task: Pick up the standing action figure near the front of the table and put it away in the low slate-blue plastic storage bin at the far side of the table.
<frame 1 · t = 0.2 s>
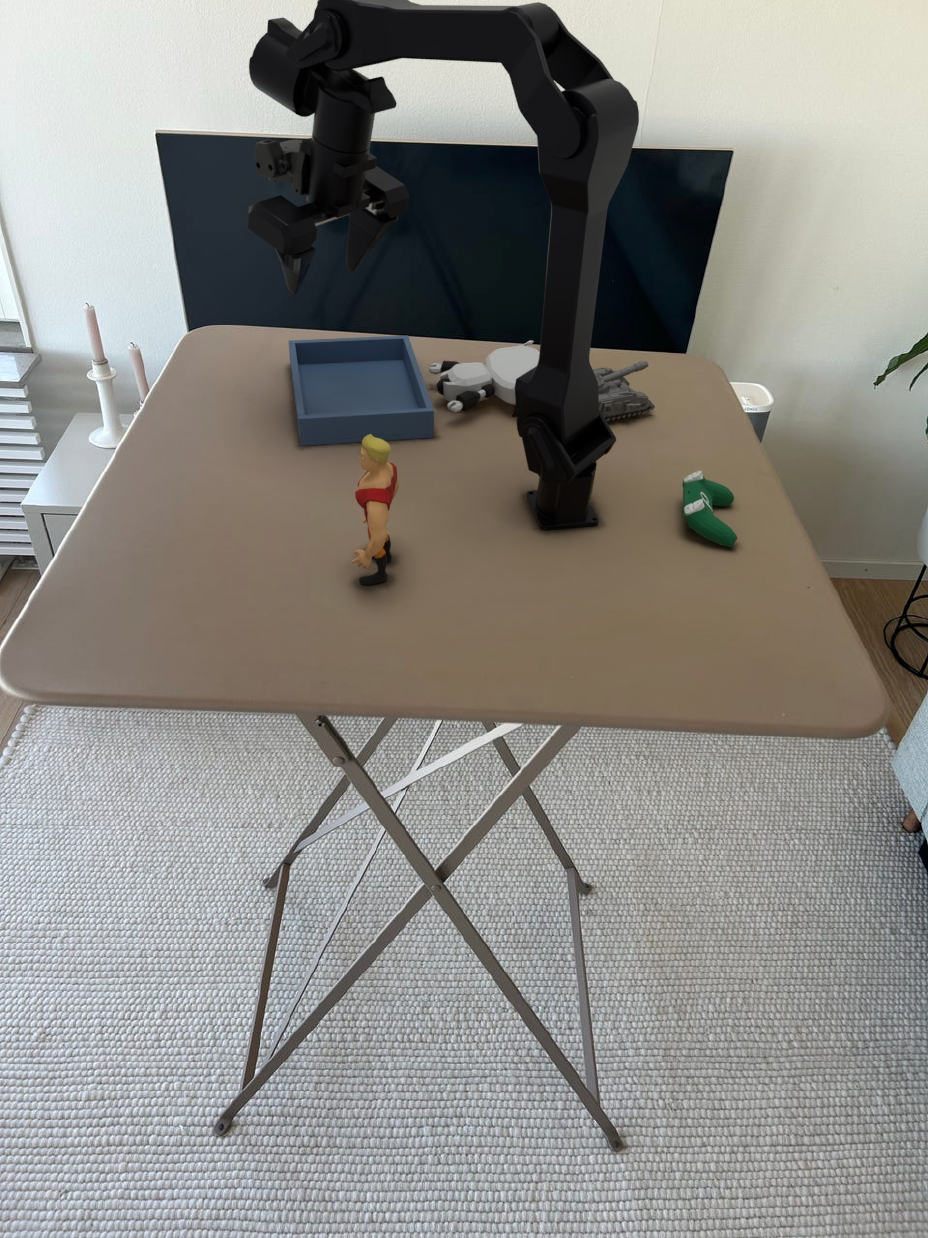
hand: (322, 280, 99), 15 cm above the table, tool pointing down, fingers open, 9 cm apart
tank toy: (599, 407, 111), on the table, touching robot toy
action figure: (376, 570, 87), on the table
green christmas stockings: (704, 523, 95), on the table
robot toy: (493, 398, 112), on the table, touching tank toy
storage bin: (358, 400, 110), on the table
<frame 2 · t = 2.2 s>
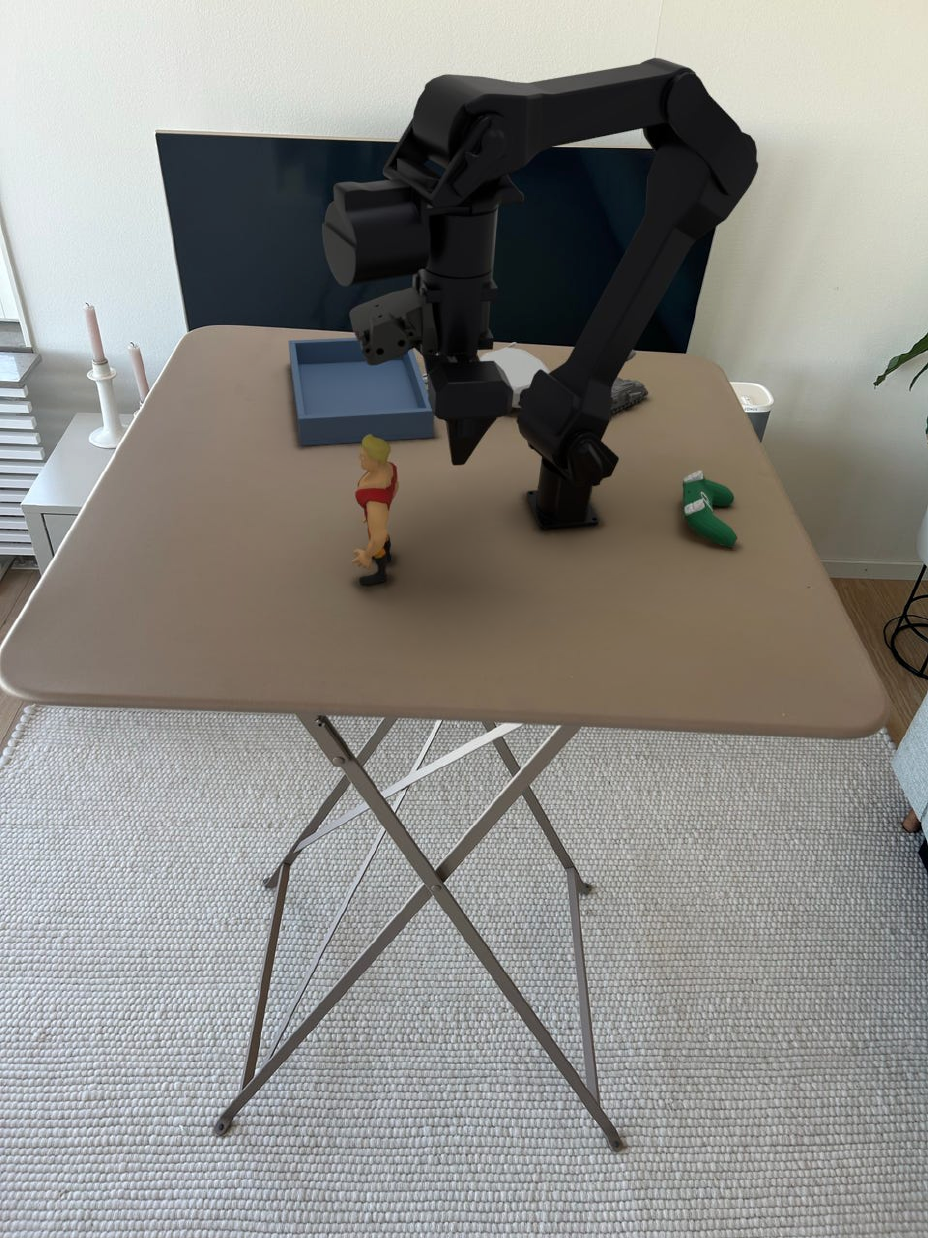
hand: (448, 436, 80), 13 cm above the table, tool pointing down, fingers open, 9 cm apart
tank toy: (596, 401, 114), on the table
robot toy: (489, 403, 112), on the table
everything else where it was.
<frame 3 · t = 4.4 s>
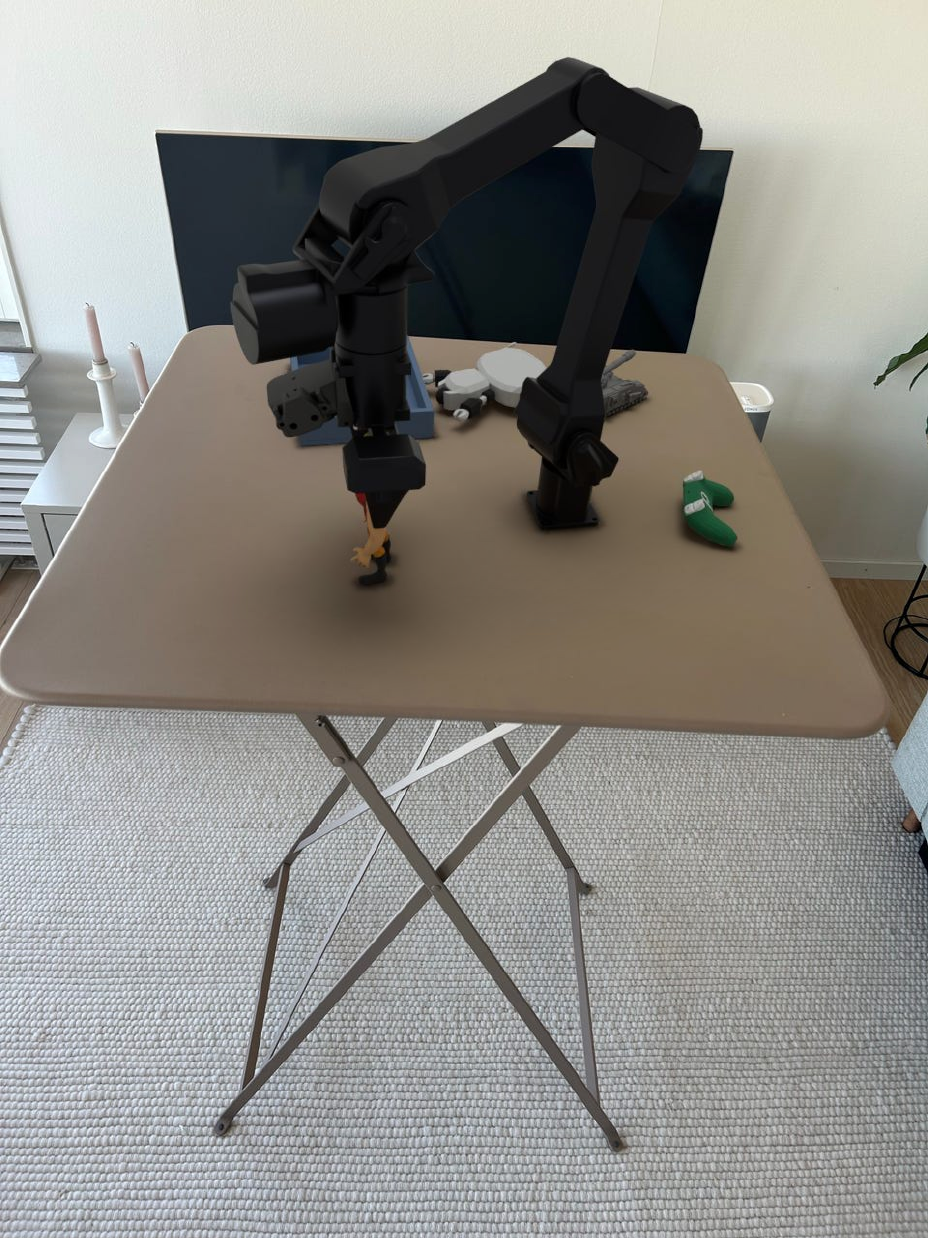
hand: (373, 501, 80), 8 cm above the table, tool pointing down, fingers closed on action figure, 7 cm apart
action figure: (375, 570, 87), on the table, touching gripper
everything else where it was.
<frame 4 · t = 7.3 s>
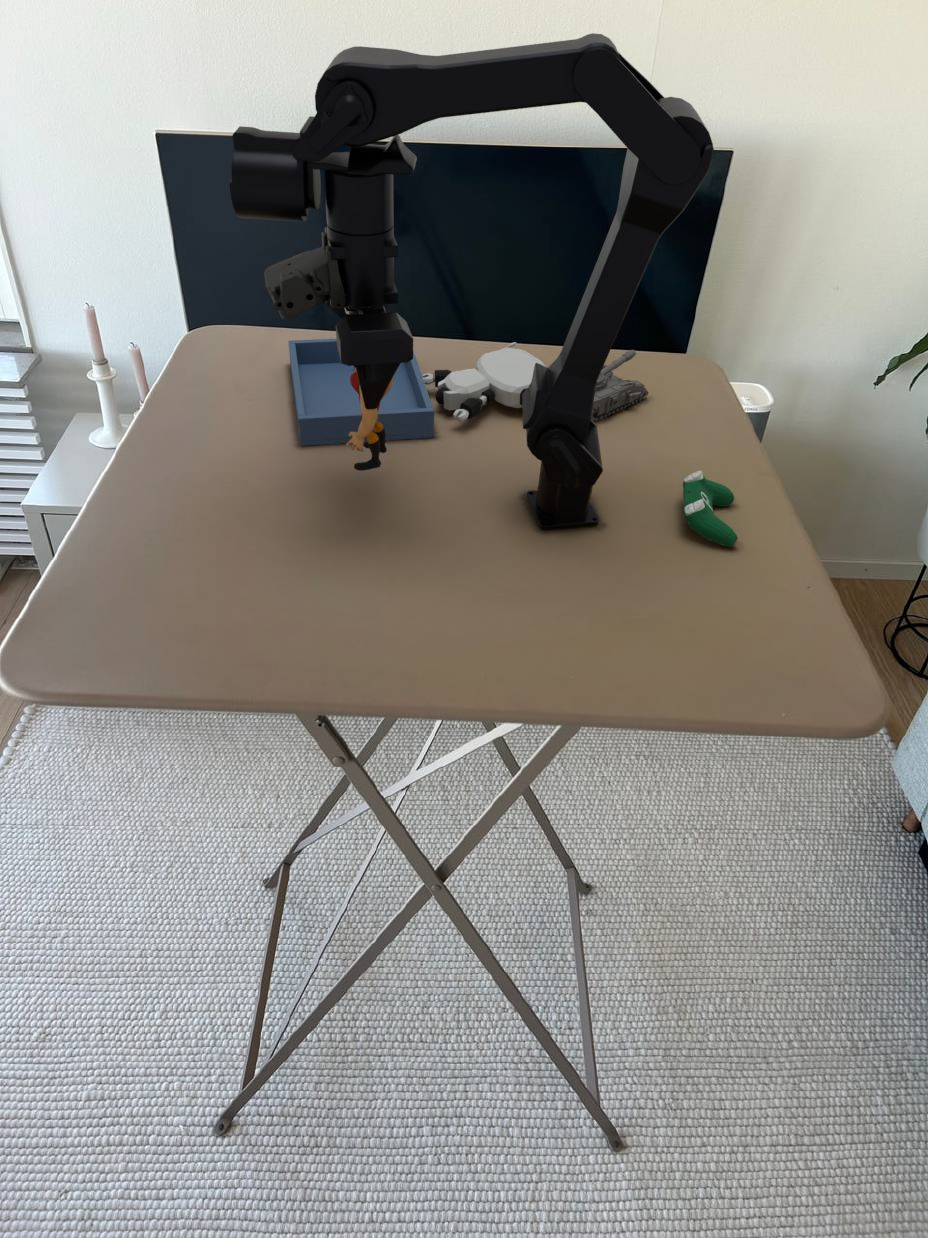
hand: (365, 389, 86), 13 cm above the table, tool pointing down, fingers closed on action figure, 7 cm apart
action figure: (371, 460, 93), point 4 cm above the table, touching gripper
everything else where it was.
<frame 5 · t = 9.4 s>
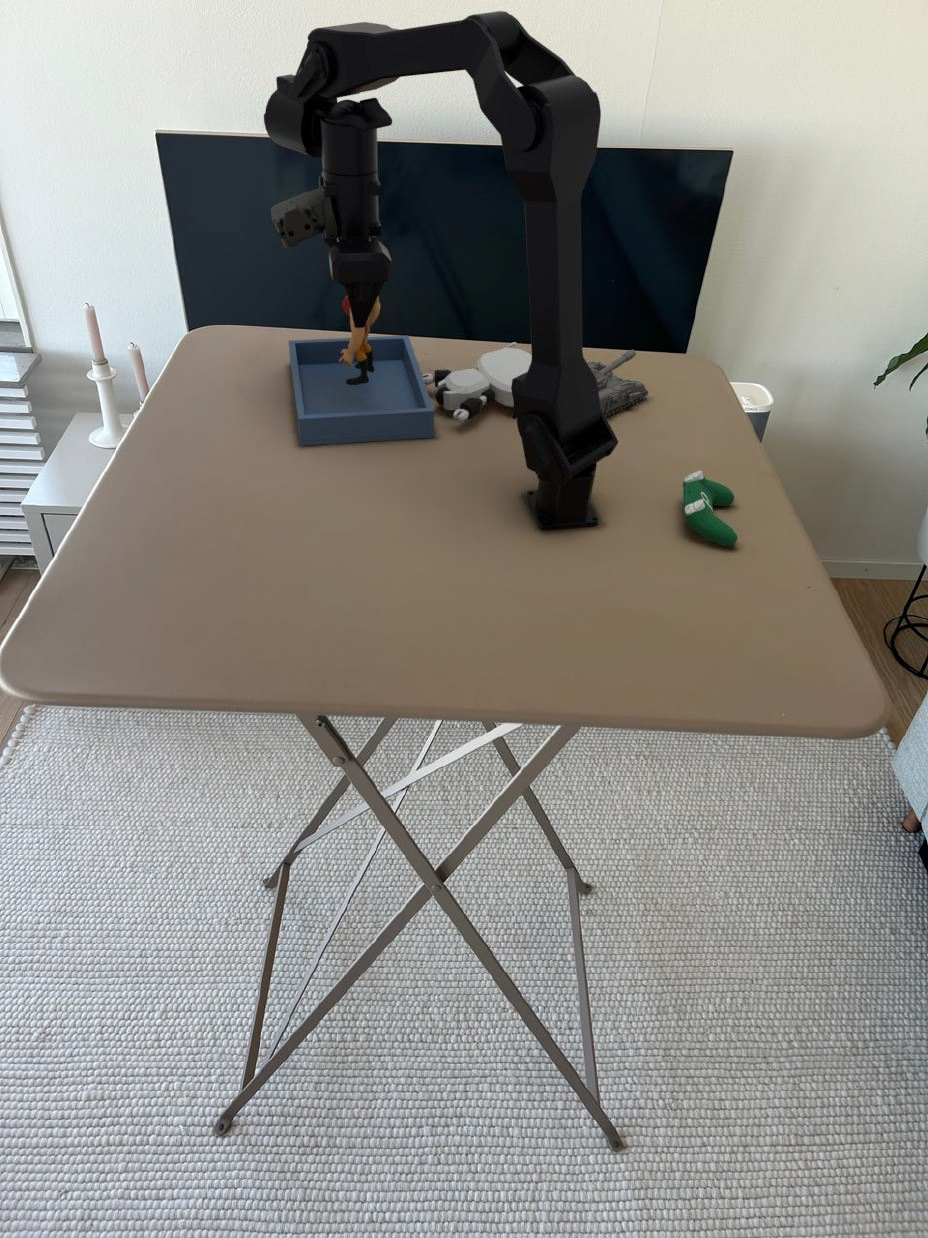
hand: (355, 312, 102), 11 cm above the table, tool pointing down, fingers closed on action figure, 7 cm apart
action figure: (361, 377, 109), point 3 cm above the table, touching gripper
everything else where it was.
when the fingers open (9 cm above the table, at t = 10.6 s): action figure stays where it is, resting on storage bin.
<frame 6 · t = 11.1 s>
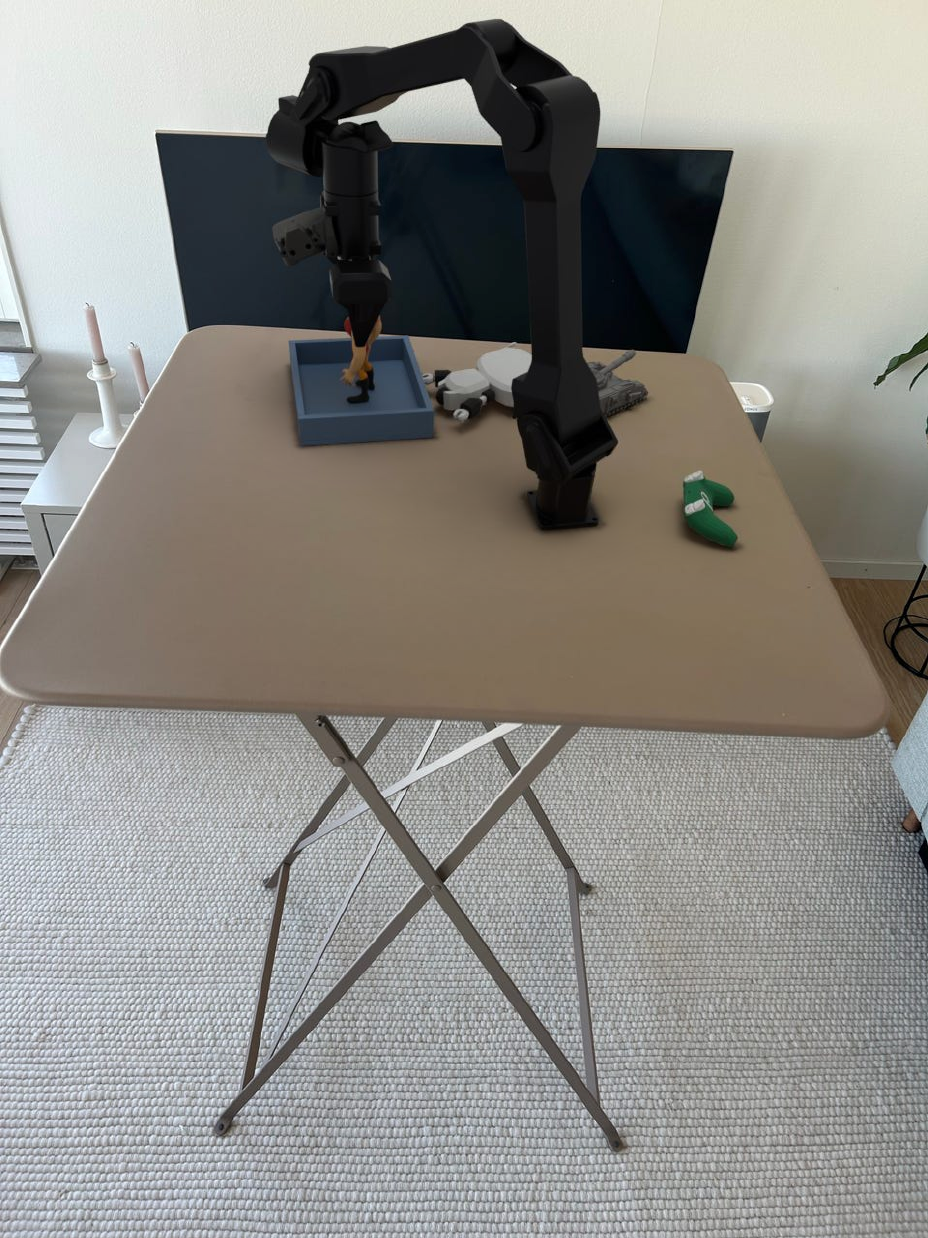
hand: (355, 328, 104), 9 cm above the table, tool pointing down, fingers open, 9 cm apart
action figure: (361, 395, 110), resting on storage bin
everything else where it was.
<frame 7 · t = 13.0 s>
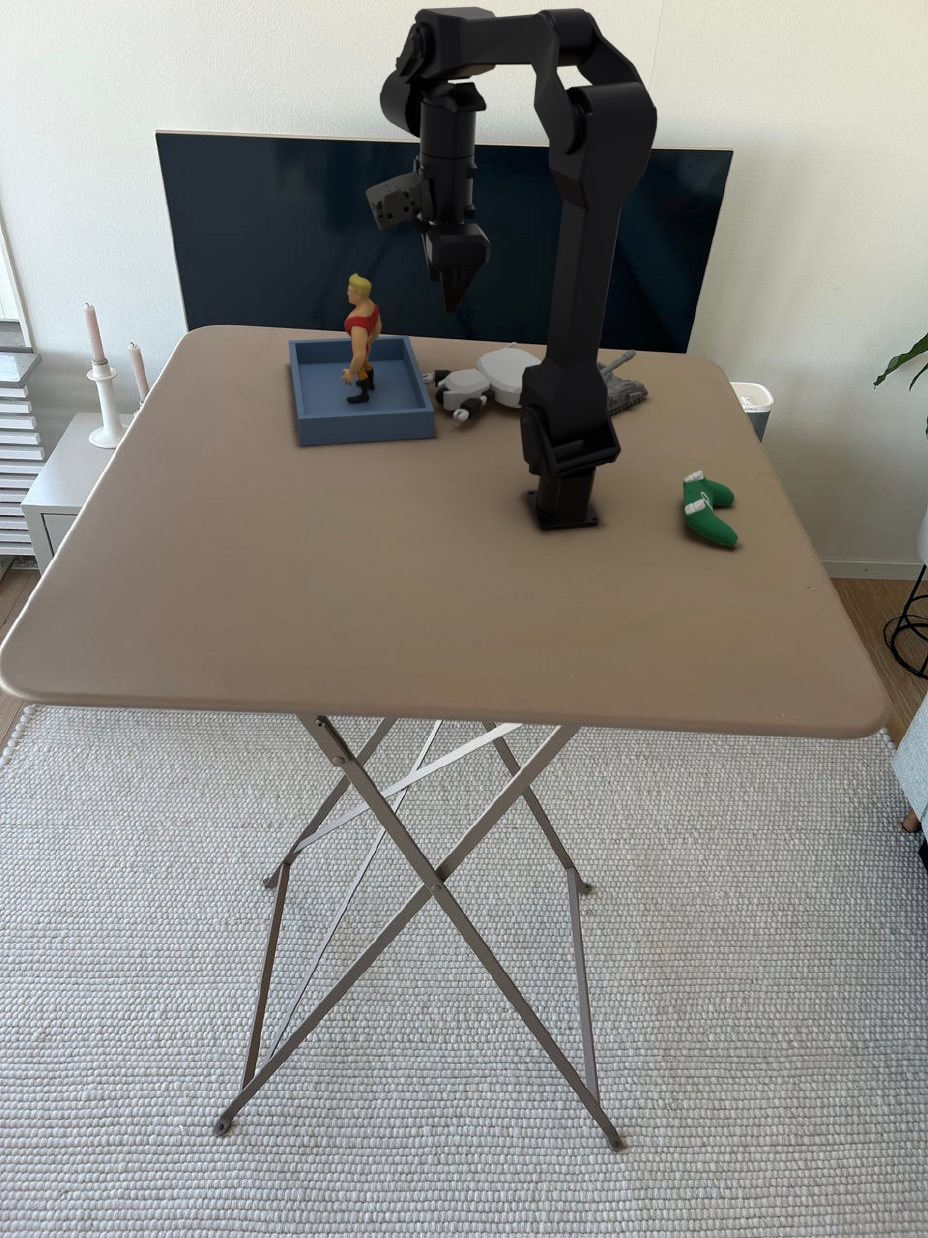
hand: (442, 296, 103), 13 cm above the table, tool pointing down, fingers open, 9 cm apart
nothing on the table moved.
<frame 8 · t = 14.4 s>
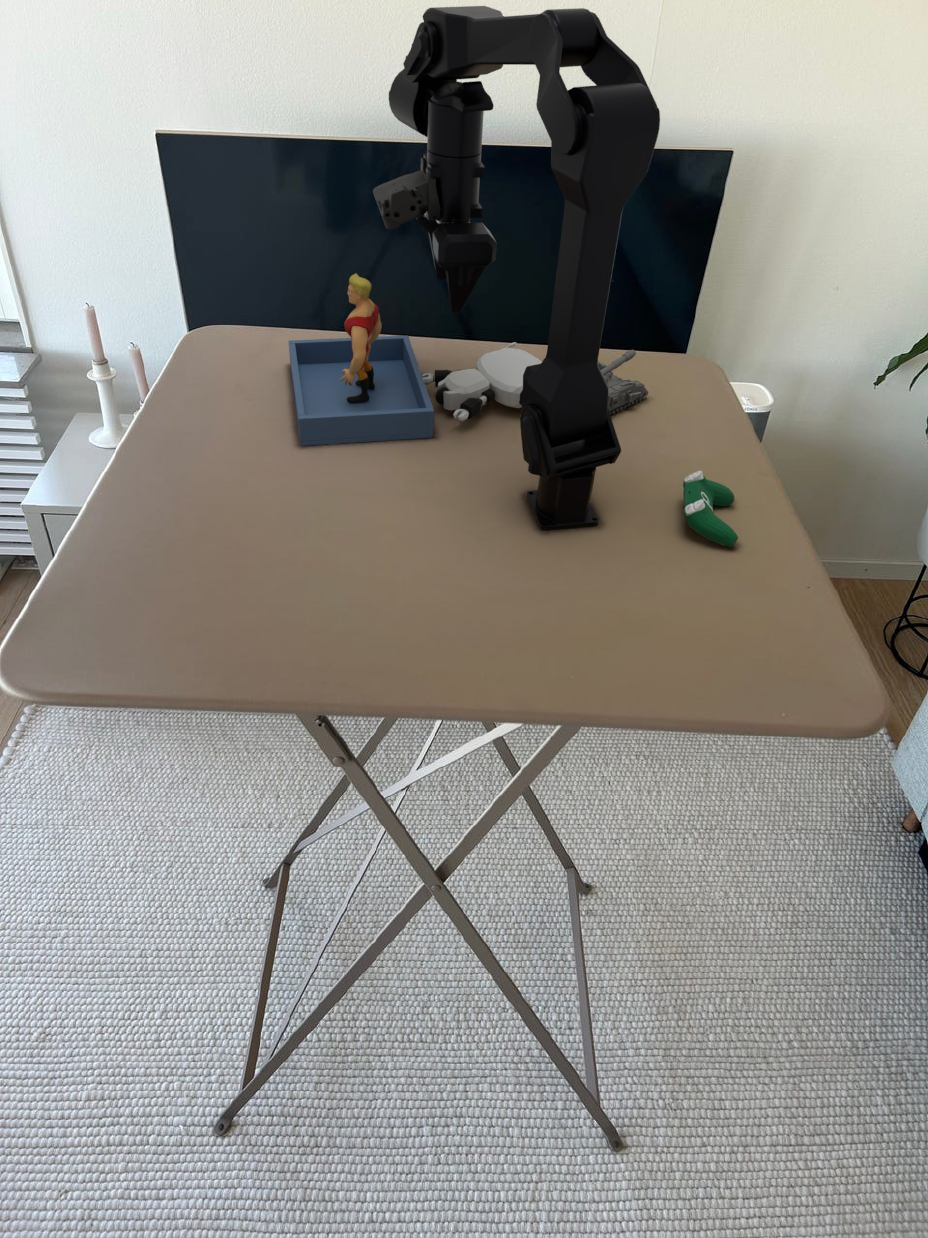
hand: (448, 295, 103), 13 cm above the table, tool pointing down, fingers open, 9 cm apart
nothing on the table moved.
at the end: action figure inside the target area in the storage bin (0.6 cm from its centre), point 0.4 cm above the storage bin's base; the gripper is holding nothing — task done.
